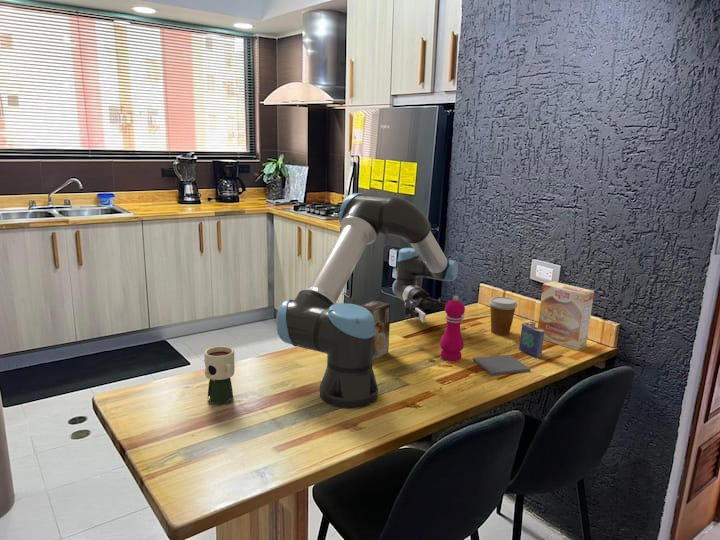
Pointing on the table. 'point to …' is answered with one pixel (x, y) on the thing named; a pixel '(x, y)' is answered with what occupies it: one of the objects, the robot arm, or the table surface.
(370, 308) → the coffee box
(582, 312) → the coffeecake box
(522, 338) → the flask
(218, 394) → the character mug
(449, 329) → the pepper mill
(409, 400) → the table surface
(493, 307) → the disposable coffee cup
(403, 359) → the table surface
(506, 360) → the charcoal mat
